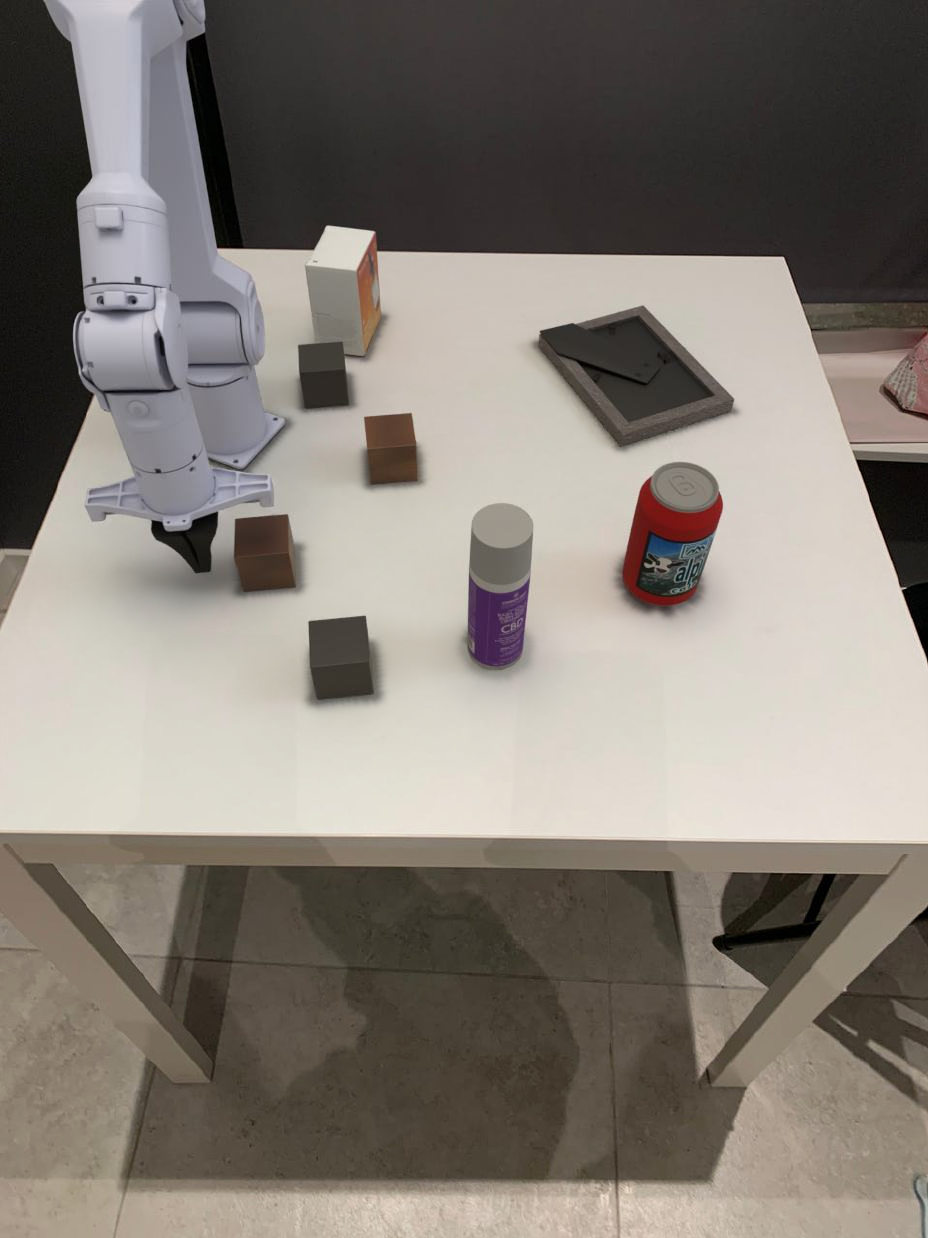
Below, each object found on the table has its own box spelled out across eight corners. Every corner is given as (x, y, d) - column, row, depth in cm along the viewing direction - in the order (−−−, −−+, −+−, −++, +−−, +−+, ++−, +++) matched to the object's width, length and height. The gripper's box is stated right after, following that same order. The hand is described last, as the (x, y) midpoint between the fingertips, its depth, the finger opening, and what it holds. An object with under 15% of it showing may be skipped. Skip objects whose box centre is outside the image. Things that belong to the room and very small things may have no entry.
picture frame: (538, 345, 104) (620, 446, 94) (539, 330, 102) (623, 431, 92) (640, 316, 107) (731, 411, 97) (643, 301, 105) (735, 395, 96)
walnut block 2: (370, 484, 90) (367, 448, 86) (367, 452, 93) (363, 416, 89) (417, 480, 90) (416, 444, 87) (413, 448, 93) (411, 412, 90)
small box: (364, 358, 102) (356, 271, 94) (315, 351, 103) (303, 264, 94) (382, 315, 107) (377, 229, 98) (335, 309, 107) (326, 223, 99)
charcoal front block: (316, 700, 75) (309, 667, 71) (314, 653, 78) (308, 620, 74) (373, 694, 76) (369, 661, 72) (369, 648, 78) (365, 614, 75)
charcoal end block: (304, 408, 97) (299, 372, 93) (303, 380, 100) (298, 344, 96) (349, 405, 97) (345, 368, 94) (346, 377, 100) (342, 340, 96)
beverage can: (648, 622, 80) (674, 527, 71) (605, 569, 84) (625, 471, 74) (712, 594, 82) (746, 498, 73) (667, 543, 86) (694, 445, 76)
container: (504, 679, 77) (514, 559, 65) (456, 654, 78) (457, 532, 66) (533, 640, 79) (547, 517, 67) (485, 616, 80) (491, 492, 68)
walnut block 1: (243, 592, 82) (233, 557, 78) (244, 553, 85) (234, 518, 81) (296, 587, 82) (288, 552, 79) (295, 548, 85) (287, 513, 81)
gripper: (60, 492, 68) (114, 607, 79) (261, 476, 69) (287, 591, 80) (72, 428, 72) (122, 545, 83) (261, 413, 73) (286, 531, 84)
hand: (203, 564), depth 82 cm, fingers closed
